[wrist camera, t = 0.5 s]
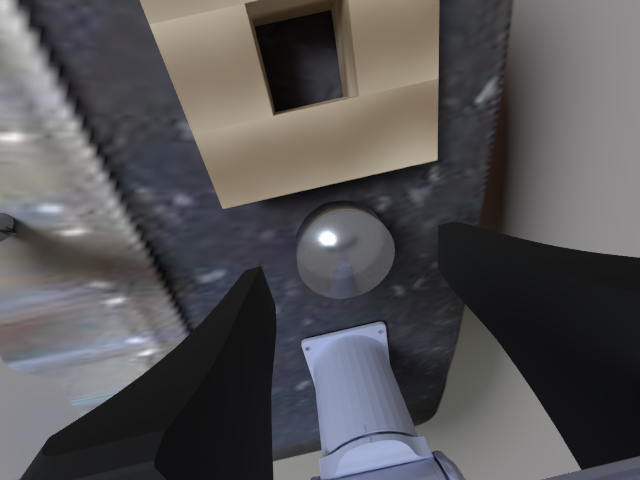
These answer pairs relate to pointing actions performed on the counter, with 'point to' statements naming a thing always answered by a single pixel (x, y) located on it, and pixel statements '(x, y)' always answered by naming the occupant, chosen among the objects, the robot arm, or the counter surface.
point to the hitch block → (311, 120)
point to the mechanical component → (6, 226)
